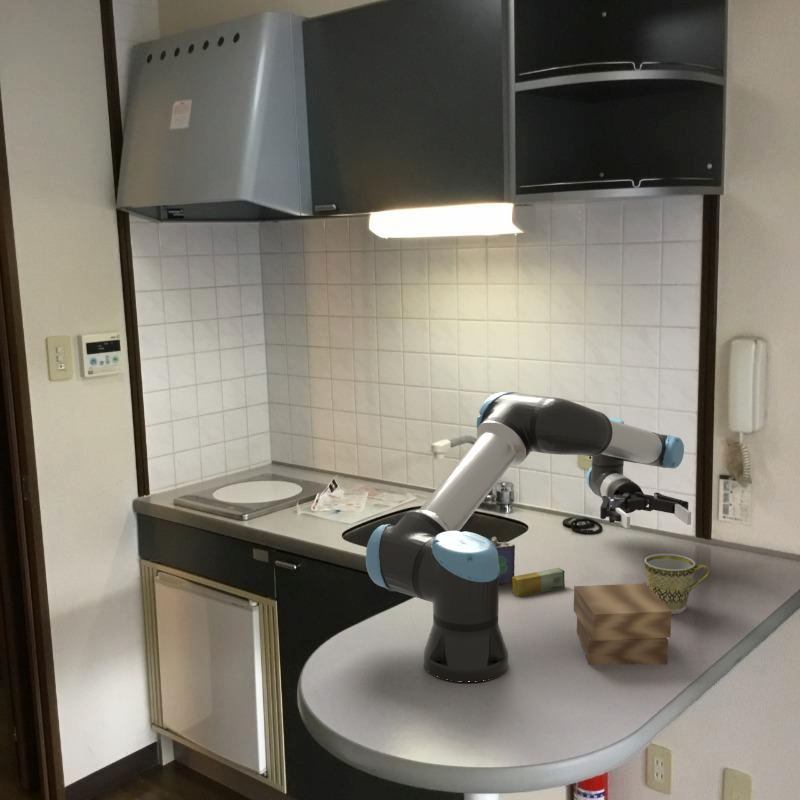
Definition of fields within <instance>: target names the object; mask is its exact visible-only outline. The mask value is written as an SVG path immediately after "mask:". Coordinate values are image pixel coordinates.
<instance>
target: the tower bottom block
mask: <svg viewBox="0 0 800 800" xmlns="http://www.w3.org/2000/svg"><path fill="white" fill-rule="evenodd" d="M576 634H577V637H578V639H579V642H580V646H581V648H582V650H583V653H584V654H583V655H585V659H586V662H587V665H668V651H669V650H668V649H669V644H668V643H669V640H668V639H669V638H652V639H630V640H608V641H593V639H592V638H591V636H590V635H589V633H588V632H587V630H586V629H585V627H584V626H583V624H582V623H581V621H580V620H579V618H578V617H577V616H576Z"/></svg>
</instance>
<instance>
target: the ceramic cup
mask: <svg viewBox="0 0 800 800" xmlns="http://www.w3.org/2000/svg"><path fill="white" fill-rule="evenodd" d="M701 568H705V569H706V573H705V574H704V575H703V576H702V577H700V578H699V579H697V580H696V581H695V582H694V583H693V584H692V582H693V577H694V575H695V573H696V572H697V570H699V569H701ZM644 569H645V574H646V578H647V585H648V586H649V587H650V588H651V590H652V591H653V592H654V593H655V594H656V595H657V596H658V597H659V598H660V599H661V600H662V601H663V603H664V604H665V605H666V606H667V607H668V608H669V609H670V610H671V611H672V612H671V615H675V614H676V615H679V614H681V613H683V612H684V610H685V611H686V609H687V605H688V600H689V596H690V592H691V590H692V589H694V588H695V587H697V585H698V584H699V583H700V582H701V581H702V580H705V579H706V578H707V577H708V576H709V574H710V569H709V566H708V565H706V564H704V563H698V564H696V562H695V561H694V560H693V559H692V558H689V557H688V556H685V555H680V554H674V553H656V554H651V555H649V556H646V557H645V558H644Z"/></svg>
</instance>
